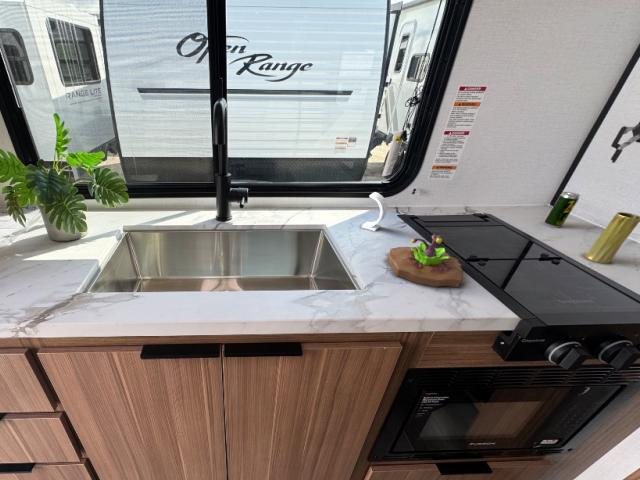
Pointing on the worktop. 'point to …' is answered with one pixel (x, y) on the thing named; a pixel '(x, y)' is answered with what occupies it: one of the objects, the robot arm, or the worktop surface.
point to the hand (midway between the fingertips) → (629, 164)
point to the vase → (612, 237)
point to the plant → (426, 264)
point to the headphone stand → (383, 211)
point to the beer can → (561, 209)
